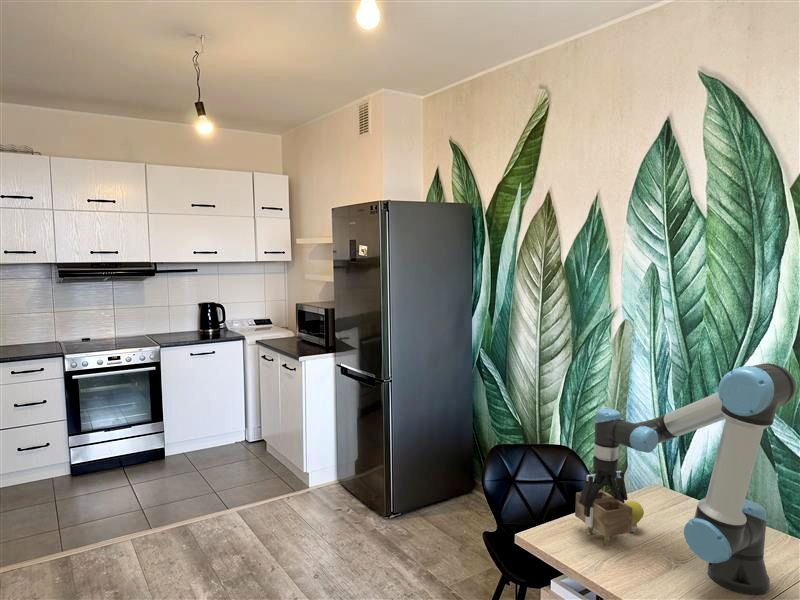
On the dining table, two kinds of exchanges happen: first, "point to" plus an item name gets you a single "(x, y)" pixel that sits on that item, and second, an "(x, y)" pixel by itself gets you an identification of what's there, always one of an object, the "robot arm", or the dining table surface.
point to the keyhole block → (607, 514)
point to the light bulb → (635, 513)
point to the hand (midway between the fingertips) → (602, 523)
